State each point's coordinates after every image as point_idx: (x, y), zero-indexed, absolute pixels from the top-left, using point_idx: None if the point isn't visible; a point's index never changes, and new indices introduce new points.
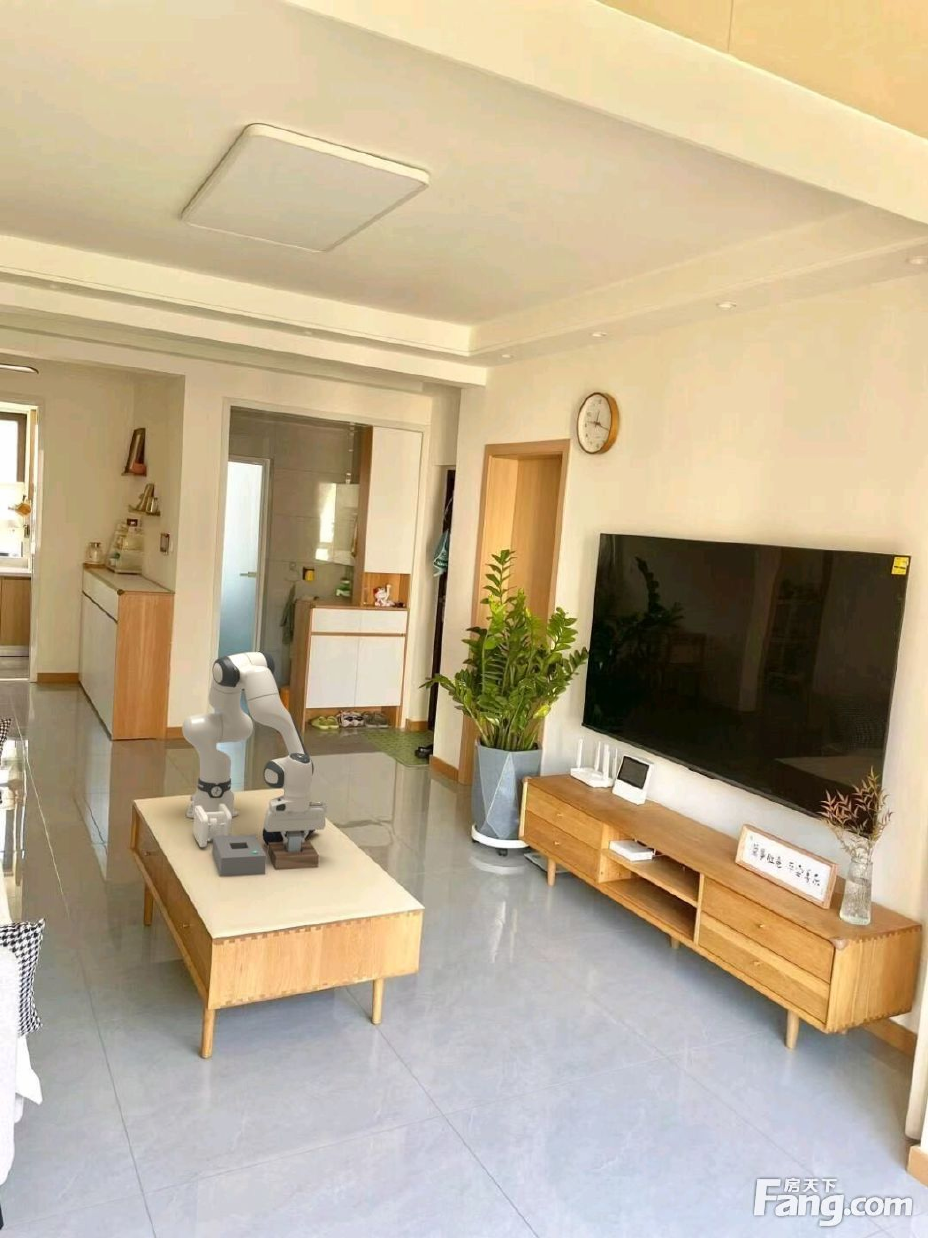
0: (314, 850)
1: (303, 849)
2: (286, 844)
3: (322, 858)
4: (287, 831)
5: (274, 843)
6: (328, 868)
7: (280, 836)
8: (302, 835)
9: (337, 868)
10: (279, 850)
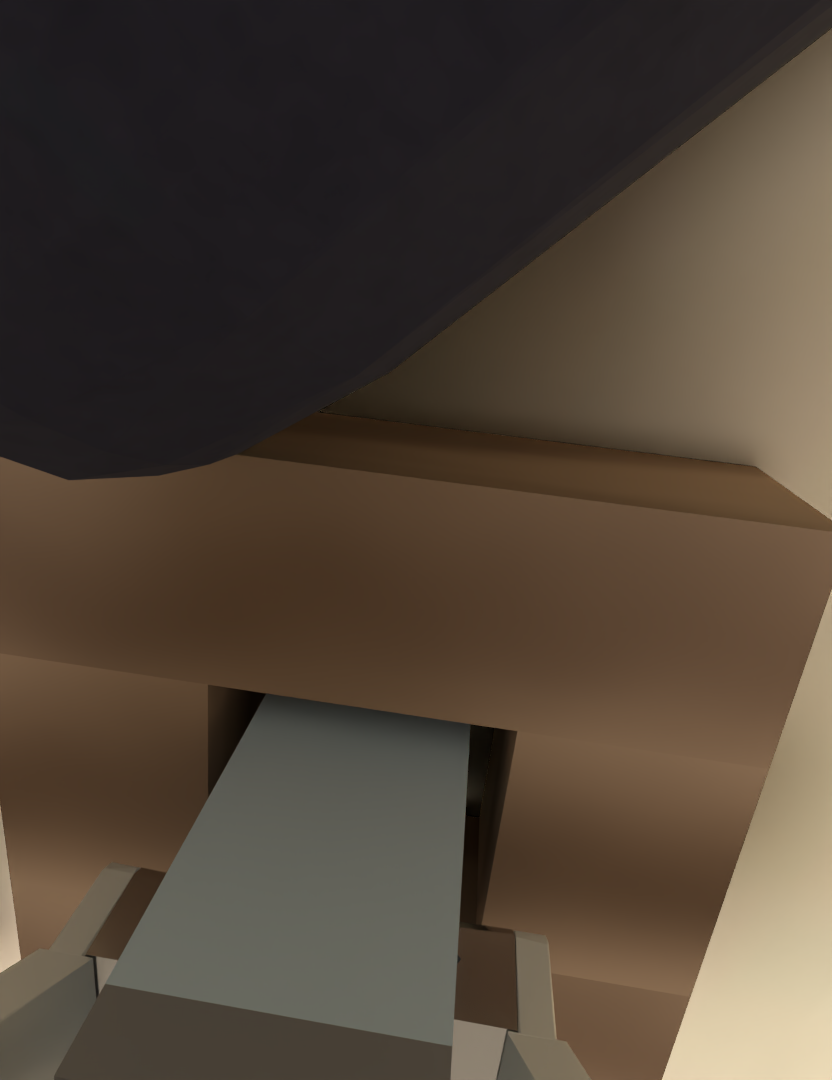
0: (677, 982)
1: (513, 899)
2: (228, 775)
3: (827, 757)
4: (75, 1067)
5: (62, 500)
6: (720, 1023)
7: (128, 476)
8: (520, 1071)
9: (824, 1053)
10: (106, 826)
